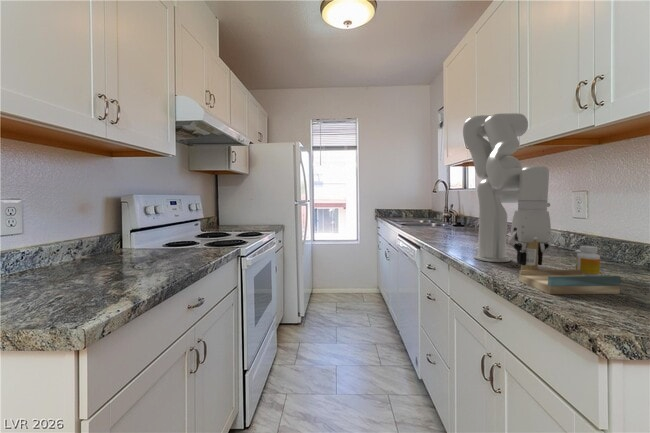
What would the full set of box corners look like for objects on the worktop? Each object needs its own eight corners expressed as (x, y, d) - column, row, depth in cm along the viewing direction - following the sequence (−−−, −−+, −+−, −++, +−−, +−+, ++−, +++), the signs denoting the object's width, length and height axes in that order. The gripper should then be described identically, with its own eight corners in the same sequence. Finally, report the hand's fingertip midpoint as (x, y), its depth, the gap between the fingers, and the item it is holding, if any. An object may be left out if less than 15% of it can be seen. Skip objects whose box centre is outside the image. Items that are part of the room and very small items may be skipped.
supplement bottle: (604, 281, 88) (606, 248, 88) (585, 281, 88) (587, 248, 88) (588, 276, 94) (590, 245, 93) (570, 276, 94) (572, 245, 93)
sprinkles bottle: (540, 274, 95) (542, 232, 94) (533, 276, 93) (535, 233, 92) (524, 271, 99) (526, 230, 98) (517, 273, 97) (519, 231, 96)
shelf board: (518, 280, 89) (519, 266, 88) (579, 280, 89) (580, 265, 89) (549, 294, 77) (550, 277, 76) (619, 293, 77) (620, 276, 77)
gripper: (549, 206, 98) (546, 261, 100) (498, 206, 98) (496, 261, 100) (568, 207, 91) (565, 267, 92) (513, 207, 91) (510, 267, 92)
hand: (529, 263), depth 96 cm, fingers closed on sprinkles bottle, 4 cm apart
